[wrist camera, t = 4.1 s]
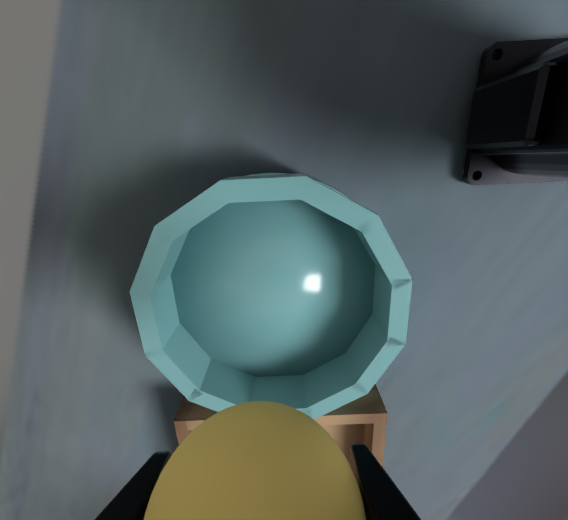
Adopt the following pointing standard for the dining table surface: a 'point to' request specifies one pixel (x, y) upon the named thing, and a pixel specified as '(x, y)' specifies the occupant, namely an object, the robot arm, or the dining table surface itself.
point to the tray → (338, 423)
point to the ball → (257, 470)
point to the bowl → (272, 295)
